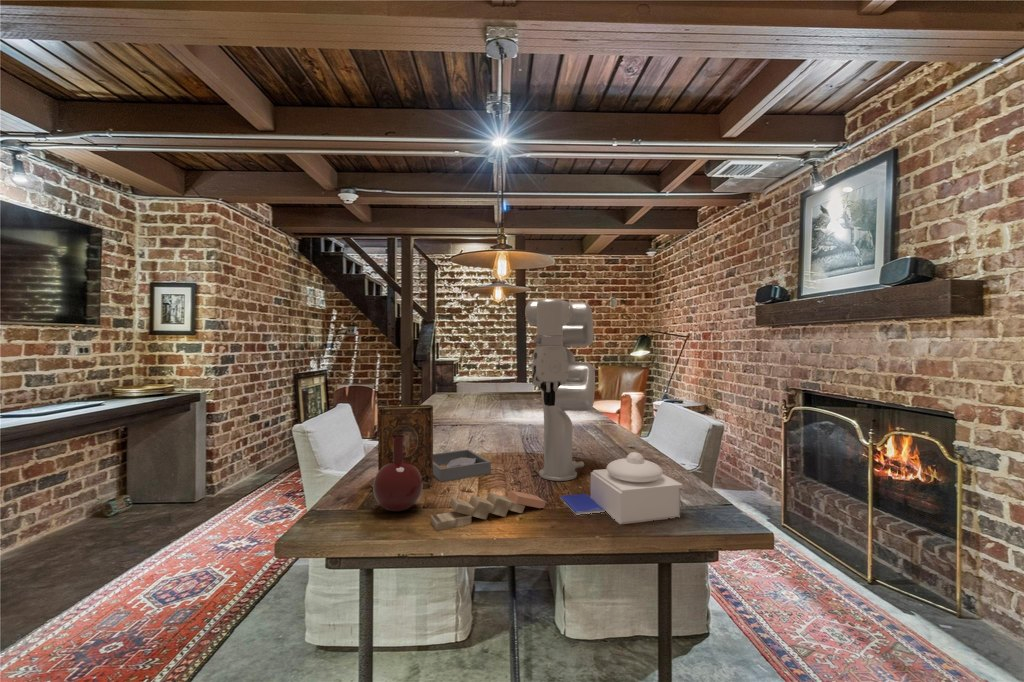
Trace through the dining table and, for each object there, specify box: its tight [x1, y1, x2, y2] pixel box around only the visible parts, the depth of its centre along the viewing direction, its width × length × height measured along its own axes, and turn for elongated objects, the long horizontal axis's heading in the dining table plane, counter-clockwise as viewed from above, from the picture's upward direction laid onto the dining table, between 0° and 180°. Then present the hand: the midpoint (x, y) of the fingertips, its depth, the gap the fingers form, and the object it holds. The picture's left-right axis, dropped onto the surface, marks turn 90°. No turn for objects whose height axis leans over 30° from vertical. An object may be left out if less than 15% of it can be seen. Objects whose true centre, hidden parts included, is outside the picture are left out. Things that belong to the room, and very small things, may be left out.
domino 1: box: [430, 510, 472, 532], centre depth 117 cm, size 2×5×9 cm
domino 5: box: [507, 490, 546, 509], centre depth 127 cm, size 2×5×9 cm
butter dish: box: [590, 451, 684, 525], centre depth 127 cm, size 18×18×16 cm
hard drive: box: [560, 493, 606, 516], centre depth 129 cm, size 2×8×12 cm
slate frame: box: [433, 449, 492, 483], centre depth 161 cm, size 18×19×4 cm
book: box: [377, 404, 434, 489], centre depth 144 cm, size 16×6×25 cm, turn 102°
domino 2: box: [449, 497, 490, 521], centre depth 120 cm, size 2×5×9 cm
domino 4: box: [486, 491, 526, 514], centre depth 124 cm, size 2×5×9 cm
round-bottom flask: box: [372, 435, 424, 512], centre depth 126 cm, size 13×13×20 cm
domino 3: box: [468, 494, 509, 518], centre depth 121 cm, size 2×5×9 cm
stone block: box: [445, 458, 476, 468], centre depth 161 cm, size 12×5×10 cm
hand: (549, 405), depth 134 cm, fingers closed
